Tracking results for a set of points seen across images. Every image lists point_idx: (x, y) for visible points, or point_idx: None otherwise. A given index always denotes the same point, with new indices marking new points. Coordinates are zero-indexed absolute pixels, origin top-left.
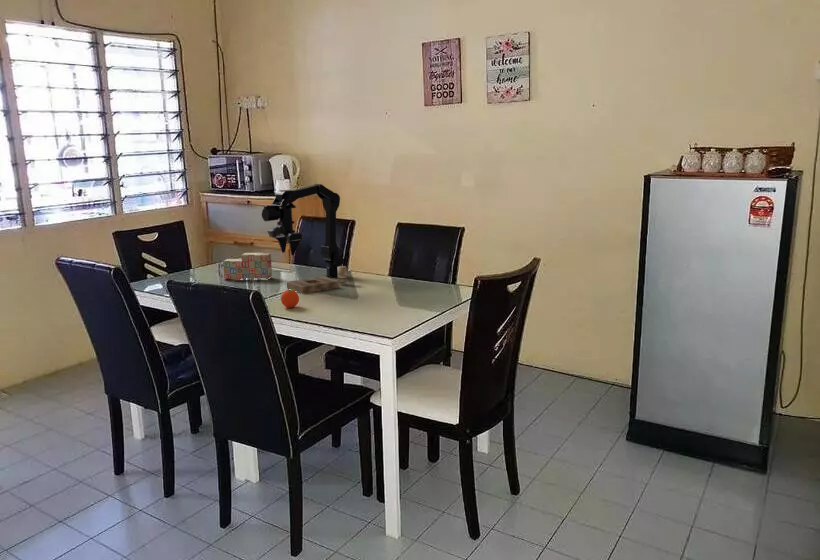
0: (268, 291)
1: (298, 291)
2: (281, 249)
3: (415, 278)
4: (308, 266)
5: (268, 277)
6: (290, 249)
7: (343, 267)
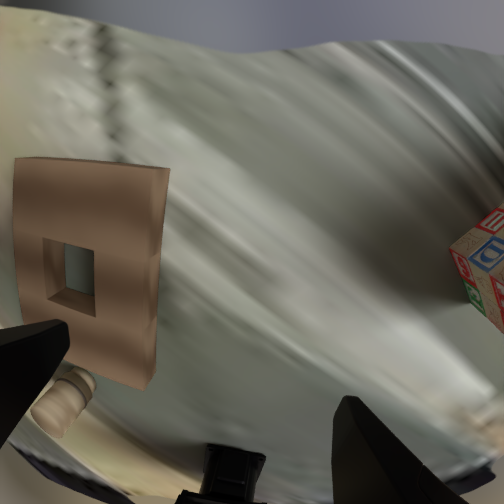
0: (196, 56)
1: (57, 158)
2: (368, 421)
3: (67, 474)
4: (442, 478)
5: (459, 259)
6: (6, 342)
7: (34, 415)
